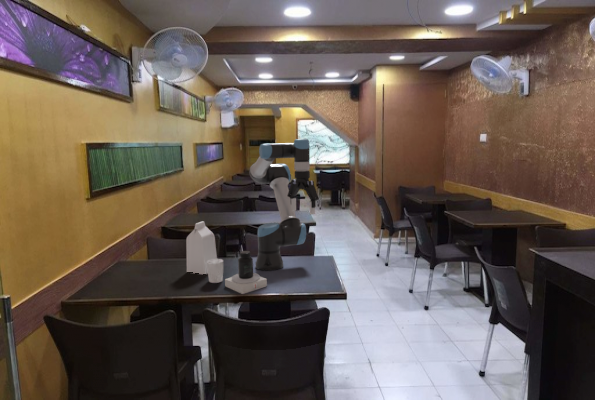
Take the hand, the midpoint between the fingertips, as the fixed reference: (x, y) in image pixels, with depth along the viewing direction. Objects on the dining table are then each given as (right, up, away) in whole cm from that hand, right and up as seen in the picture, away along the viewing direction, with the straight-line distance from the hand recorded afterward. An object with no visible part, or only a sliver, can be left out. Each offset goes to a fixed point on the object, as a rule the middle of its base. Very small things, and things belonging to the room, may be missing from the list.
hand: (302, 212), depth 205 cm
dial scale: (-27, -34, -12) cm, 45 cm away
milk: (-54, -31, +13) cm, 63 cm away
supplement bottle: (-27, -30, -13) cm, 42 cm away
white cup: (-43, -34, -4) cm, 55 cm away
